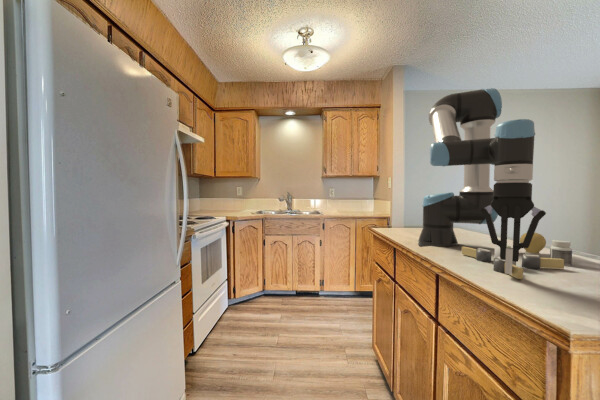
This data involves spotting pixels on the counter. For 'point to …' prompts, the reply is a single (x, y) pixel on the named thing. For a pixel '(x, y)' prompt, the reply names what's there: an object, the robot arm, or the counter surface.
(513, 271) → the knob
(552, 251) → the pill bottle
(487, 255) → the knob
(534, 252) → the light bulb
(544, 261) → the knob
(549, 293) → the counter surface
